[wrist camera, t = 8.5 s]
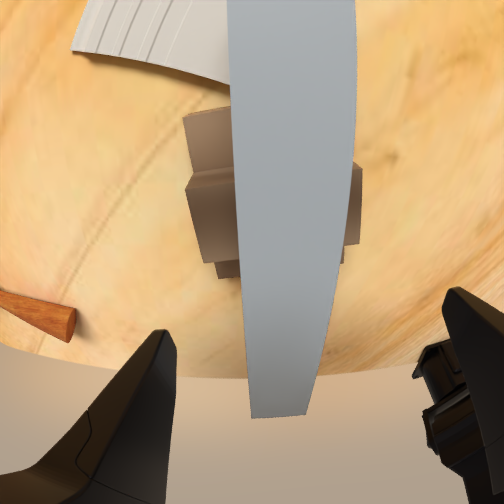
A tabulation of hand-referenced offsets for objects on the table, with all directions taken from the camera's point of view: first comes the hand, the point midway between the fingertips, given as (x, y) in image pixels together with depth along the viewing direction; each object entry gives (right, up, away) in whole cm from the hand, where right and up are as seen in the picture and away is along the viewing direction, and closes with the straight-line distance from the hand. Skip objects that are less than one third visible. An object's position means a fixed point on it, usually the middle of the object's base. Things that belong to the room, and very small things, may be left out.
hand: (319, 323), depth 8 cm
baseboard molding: (-3, +26, -3) cm, 26 cm away
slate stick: (-1, +4, +5) cm, 6 cm away
